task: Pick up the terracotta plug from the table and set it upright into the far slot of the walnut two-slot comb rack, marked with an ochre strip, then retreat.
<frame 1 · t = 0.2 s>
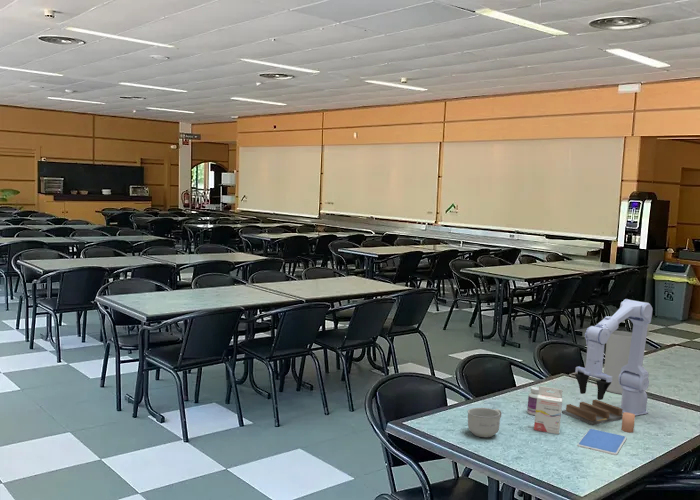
hand: (591, 396, 243), 10 cm above the table, tool pointing down, fingers open, 7 cm apart
terracotta plug: (627, 430, 238), on the table
teacup: (485, 434, 227), on the table
ink cartridge box: (546, 430, 234), on the table
pill bottle: (534, 413, 252), on the table
comb rack: (593, 415, 253), on the table
cylinder vase: (617, 390, 290), on the table
tablet computer: (601, 444, 225), on the table
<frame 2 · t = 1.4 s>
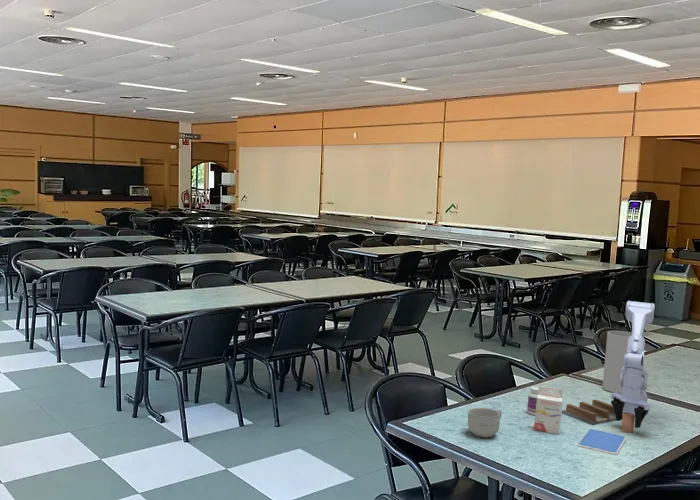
hand: (628, 423, 238), 2 cm above the table, tool pointing down, fingers open, 7 cm apart
nothing on the table moved.
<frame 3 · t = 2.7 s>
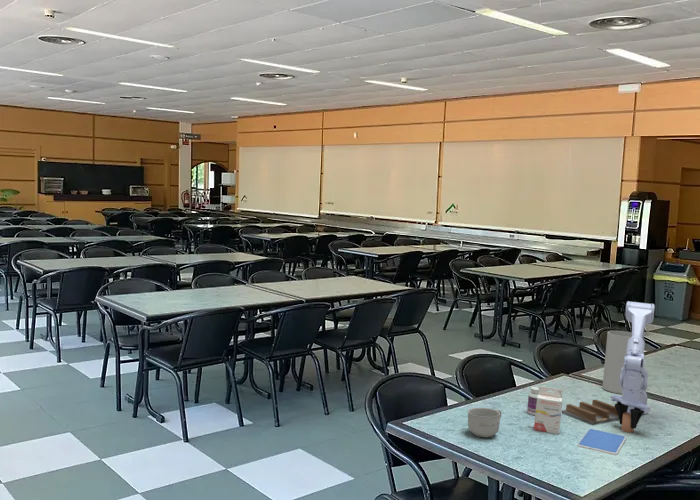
hand: (627, 426, 238), 2 cm above the table, tool pointing down, fingers closed on terracotta plug, 4 cm apart
terracotta plug: (627, 430, 238), on the table, touching gripper
everything else where it was.
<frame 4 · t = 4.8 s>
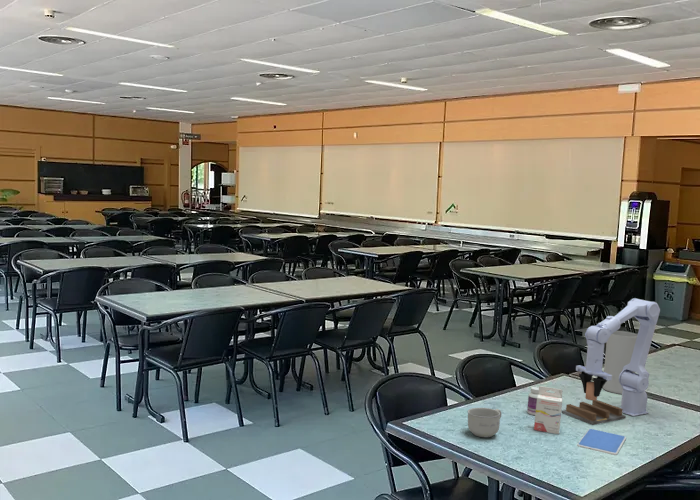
hand: (591, 394, 249), 9 cm above the table, tool pointing down, fingers closed on terracotta plug, 4 cm apart
terracotta plug: (591, 398, 249), point 7 cm above the table, touching gripper
everything else where it was.
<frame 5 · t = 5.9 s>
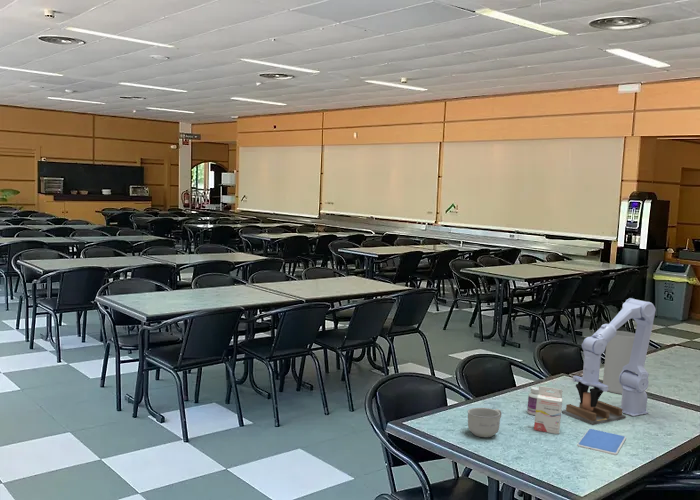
hand: (588, 404, 251), 5 cm above the table, tool pointing down, fingers closed on terracotta plug, 4 cm apart
terracotta plug: (587, 409, 251), point 3 cm above the table, touching gripper
everything else where it was.
when the fingers open (4 cm above the table, at t = 6.9 s): terracotta plug drops 1 cm, resting on comb rack.
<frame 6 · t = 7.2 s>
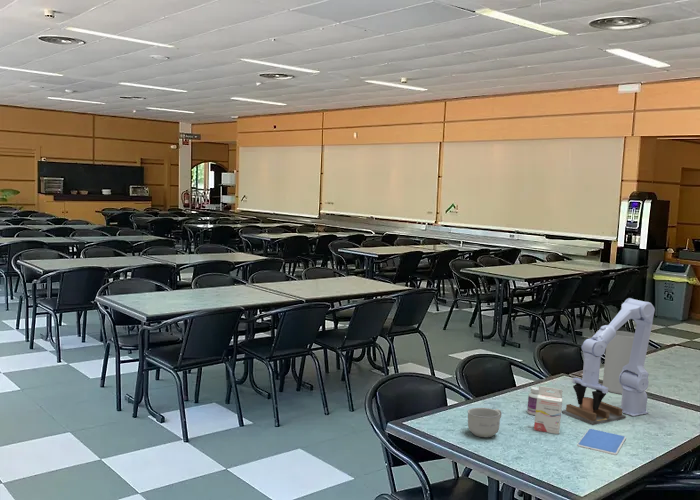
hand: (588, 406, 251), 4 cm above the table, tool pointing down, fingers open, 6 cm apart
terracotta plug: (587, 414, 251), point 1 cm above the table, touching comb rack
everything else where it was.
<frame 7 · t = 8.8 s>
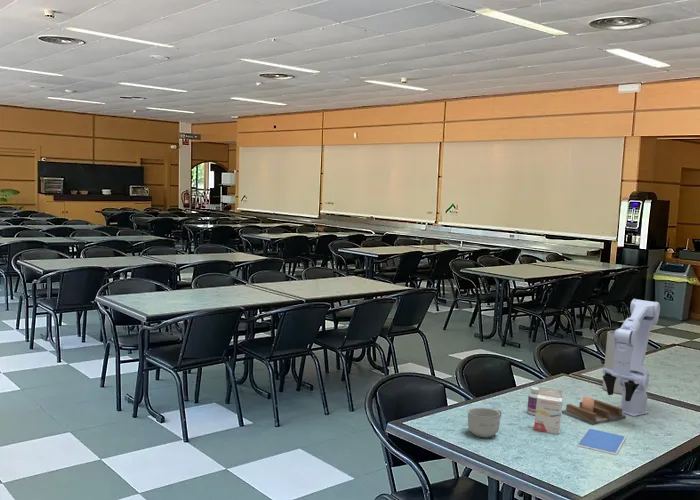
hand: (619, 397, 246), 9 cm above the table, tool pointing down, fingers open, 7 cm apart
nothing on the table moved.
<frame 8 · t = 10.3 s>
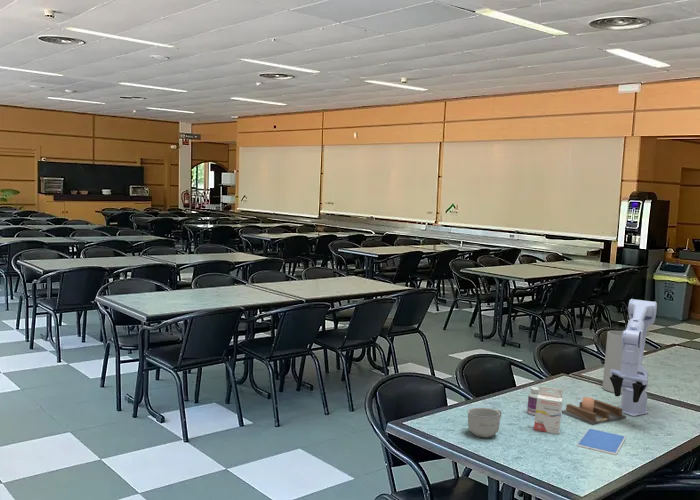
hand: (626, 399, 244), 9 cm above the table, tool pointing down, fingers open, 7 cm apart
nothing on the table moved.
at the end: terracotta plug 0.0 cm from the target spot on the comb rack, point 1.0 cm above the comb rack's base; terracotta plug tilted 0°; the gripper is holding nothing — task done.
